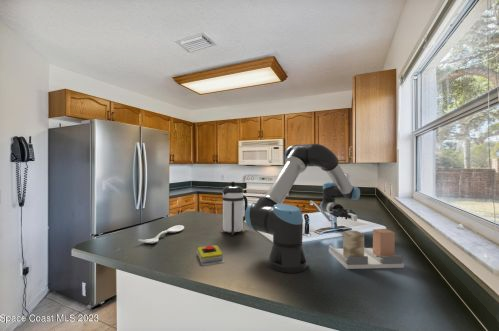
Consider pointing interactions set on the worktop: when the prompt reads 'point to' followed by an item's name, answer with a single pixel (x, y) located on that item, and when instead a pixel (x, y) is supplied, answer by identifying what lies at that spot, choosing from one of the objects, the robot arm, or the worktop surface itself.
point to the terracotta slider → (383, 242)
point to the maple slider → (353, 243)
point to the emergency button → (210, 255)
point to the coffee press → (233, 208)
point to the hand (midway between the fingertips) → (355, 218)
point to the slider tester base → (366, 260)
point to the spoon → (172, 229)
